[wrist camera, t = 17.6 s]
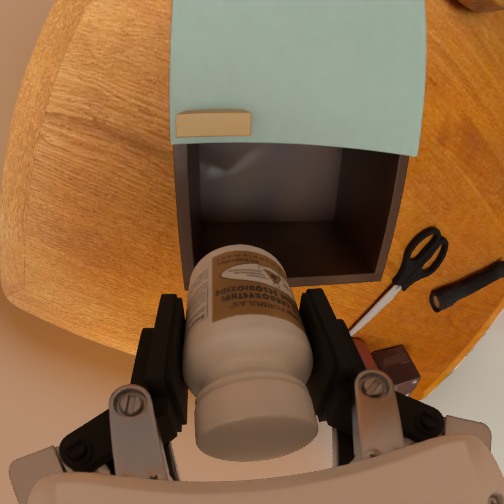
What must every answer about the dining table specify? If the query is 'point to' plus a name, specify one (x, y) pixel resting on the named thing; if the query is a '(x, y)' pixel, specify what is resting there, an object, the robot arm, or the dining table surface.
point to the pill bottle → (247, 358)
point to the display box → (290, 206)
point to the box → (398, 368)
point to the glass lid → (299, 73)
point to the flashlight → (465, 288)
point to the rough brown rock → (483, 5)
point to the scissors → (410, 271)
